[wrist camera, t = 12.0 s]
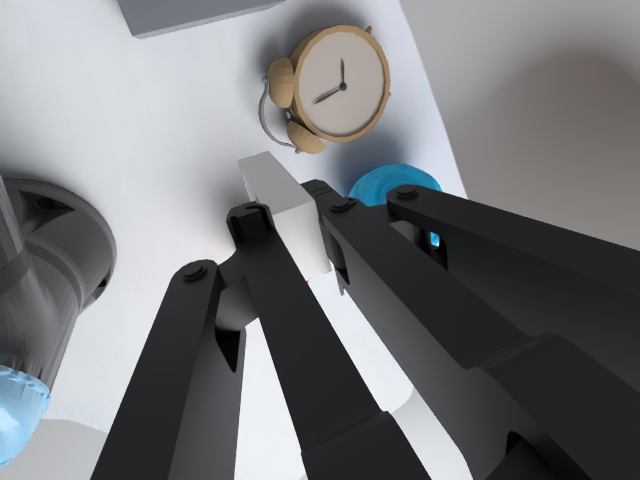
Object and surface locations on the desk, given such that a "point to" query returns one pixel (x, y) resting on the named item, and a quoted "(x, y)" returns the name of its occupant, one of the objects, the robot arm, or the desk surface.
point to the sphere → (391, 185)
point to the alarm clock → (329, 87)
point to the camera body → (183, 13)
